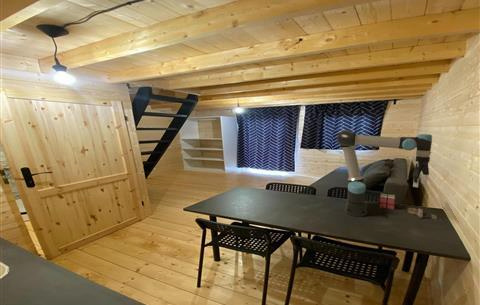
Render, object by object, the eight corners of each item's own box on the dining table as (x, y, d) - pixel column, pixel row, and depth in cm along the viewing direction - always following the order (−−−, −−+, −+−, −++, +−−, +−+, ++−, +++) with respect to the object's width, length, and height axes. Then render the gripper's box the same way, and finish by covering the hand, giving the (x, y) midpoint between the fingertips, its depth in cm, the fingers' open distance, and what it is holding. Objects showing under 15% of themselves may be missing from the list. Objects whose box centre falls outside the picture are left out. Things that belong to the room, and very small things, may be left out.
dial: (405, 209, 160) (405, 202, 159) (419, 211, 157) (420, 203, 156) (412, 217, 147) (413, 209, 146) (428, 219, 144) (429, 210, 143)
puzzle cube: (394, 211, 162) (395, 199, 161) (379, 208, 168) (379, 196, 167) (394, 206, 170) (395, 195, 169) (379, 204, 176) (380, 193, 175)
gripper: (421, 159, 137) (418, 189, 141) (436, 154, 149) (433, 183, 153) (408, 157, 144) (405, 186, 147) (423, 153, 156) (420, 180, 159)
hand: (419, 185), depth 150 cm, fingers open, 13 cm apart
